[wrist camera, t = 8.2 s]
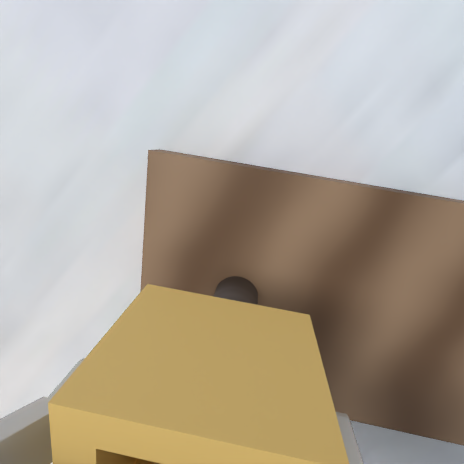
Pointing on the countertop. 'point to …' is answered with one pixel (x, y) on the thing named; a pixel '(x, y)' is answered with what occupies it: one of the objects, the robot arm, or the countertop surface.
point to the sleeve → (198, 388)
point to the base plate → (326, 276)
